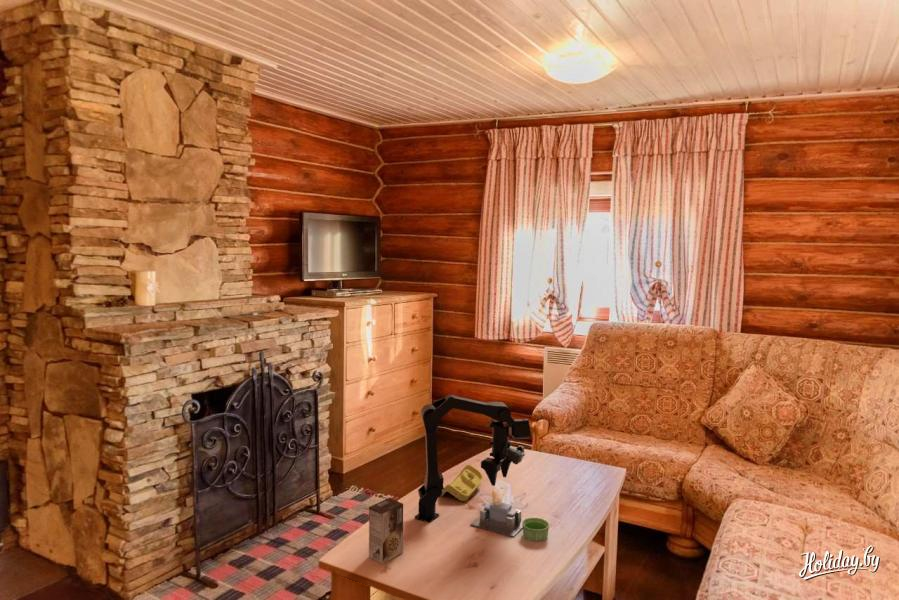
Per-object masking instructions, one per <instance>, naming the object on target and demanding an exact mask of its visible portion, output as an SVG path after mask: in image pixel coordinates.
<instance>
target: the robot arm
mask: <svg viewBox="0 0 899 600" xmlns="http://www.w3.org/2000/svg"><path fill="white" fill-rule="evenodd" d="M452 409H455V410H460V411H465V412H471V413H473V414H474V413H475V414H480V415H484V416H486V417H488V418H490V421H488V422H487V423H486V425H487V427H488V428H489V429H491V428H492V438H491V441H490V442H489V445H490V446H491V452H490V453H489V456H490V457H489V456H487V457H486V458H484V459H483V460H481V462H480V468H481V469H482V470H484V472H485V474H486V476H487V478H488V480H489V482H490V485H491V486H492V487H494V486H496V483H497V477H498V473H499V471H501V476H502V477H503V478H504V479H505V478H507V476H508V473H509V469H510V465H511V463H512V464H514V465H519V463H521V462H522V460H523V458H524V457H525V453H526V452H525V447H524V446H523V445H518V446H517V447H516V446H512V442H511V440H509V436H510V437H512V438H513V439H520V440H521V439H530V438H531V434H532V431H531V427H530V421H529V419H528V418H522V419H521V418H519V419H515V418H513V416H511V415H512V412H511V409H510V408H509V407H508V406H507V405H506V403H504V402H502V401H488V402H487V401H486V402H485V401H479V400H475V399H471V398H466V397H461V396H456V395H453V394H447V395H446V396H444V397H442V398H440V399H437V400H436V401H433V402H431V403H429V404H425V405H423V407H422V408H421V411H420V415H421V419H422V424H423V428H424V431H425V432H424V433H425V434H424V435H425V437H424V438H425V455H426V456H425V458H426V459H425V460H426V470H425V475H424V482H423V485H421V486H420V488H418V489H417V493H418V496H419V499H418V511H417V512H418V513H417V514H416V515H414V518H415V519H417V520H421V521H424V522H427V523H430V522H432V521H434V520H435V519H436V518H438V517H439V516H440V513H438V512H436V511H437V510H436V509H437V508H436V506H437V505H436V503H437V501H438V499H439V498H440V497H442V496H441V495H442V491H443V490H444V488H445V487H444V481H445V480H444V475H443V473H442V472H441V471H439V466H438V465H439V463H438V462H439V460H438V443H437V442H438V439H437V438H438V437H437V432H438V428H439V423H440V419H441V418H443V417H445V416H446V415H447V414H448V413H449V412H450V411H451V410H452Z"/></svg>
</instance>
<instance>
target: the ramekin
mask: <svg viewBox="0 0 899 600" xmlns="http://www.w3.org/2000/svg"><path fill="white" fill-rule="evenodd" d="M522 526H523V528H522V535H523V537H524V538H525V539H526V540H528V541H530V542H531V541H532V542H543V541H546V539H547V538H548V535H549V529H550V523H549V521H548V520H545V519H543V518H540V517H528V518H525V520H523V521H522Z"/></svg>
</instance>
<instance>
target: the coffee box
mask: <svg viewBox="0 0 899 600" xmlns="http://www.w3.org/2000/svg"><path fill="white" fill-rule="evenodd" d="M403 553H404V503H403V502H400V501H398V500H396V499H393V498H391V497H387V498H386V499H384V500H382V501H378V502H377V503H375V504H373V505H371V506H369V507H368V558H370V559H372V560H374V561H376V562H378V563H380V564H382V565H383V564H385V563H387V562H388V561H390V560H392V559H394V558H396V557H397V556H399V555H401V554H403Z"/></svg>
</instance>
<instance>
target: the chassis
mask: <svg viewBox="0 0 899 600" xmlns="http://www.w3.org/2000/svg"><path fill="white" fill-rule="evenodd" d="M515 510H518V512H517V513H516V514H515V515H514V516H510V515H509V516H508V517H507V521H506V524H504V523H500V522H497V521H493V520H490V510H487V509H484V507H483V508H481V510H479V516H478V517H477V518H475V520H474V521H473V522H471V523H470V526H472V527H475V528H479V529H482V530H485V531H489V532H493V533H497V534H500V535H503V536H507V537H510V538H515V537H516V536H517V535H518V533H519V532H520V531H521V530H523V526H522V521H523V520H525V519H526V518H524V517H522V510H521V509H518V508H517V509H515Z"/></svg>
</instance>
